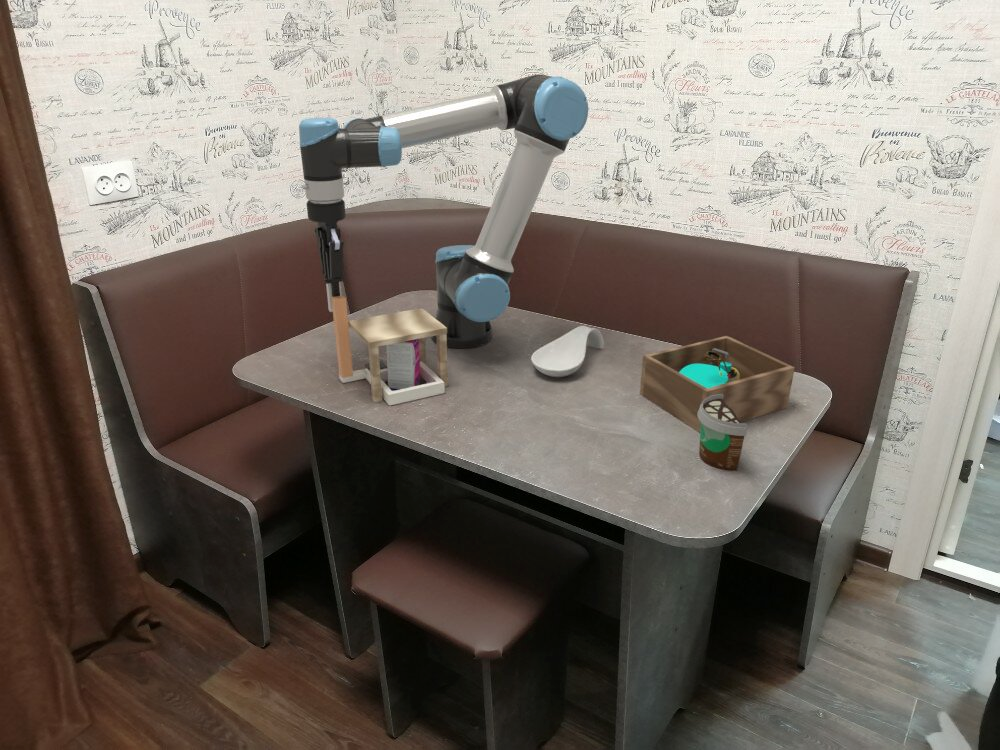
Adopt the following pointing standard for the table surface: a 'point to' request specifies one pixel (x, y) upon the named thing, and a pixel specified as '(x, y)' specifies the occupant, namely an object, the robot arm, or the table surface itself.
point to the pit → (382, 365)
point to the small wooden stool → (400, 339)
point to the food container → (720, 434)
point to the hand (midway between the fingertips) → (335, 309)
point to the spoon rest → (566, 352)
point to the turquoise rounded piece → (712, 371)
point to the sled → (391, 397)
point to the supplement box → (403, 364)
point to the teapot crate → (747, 397)
